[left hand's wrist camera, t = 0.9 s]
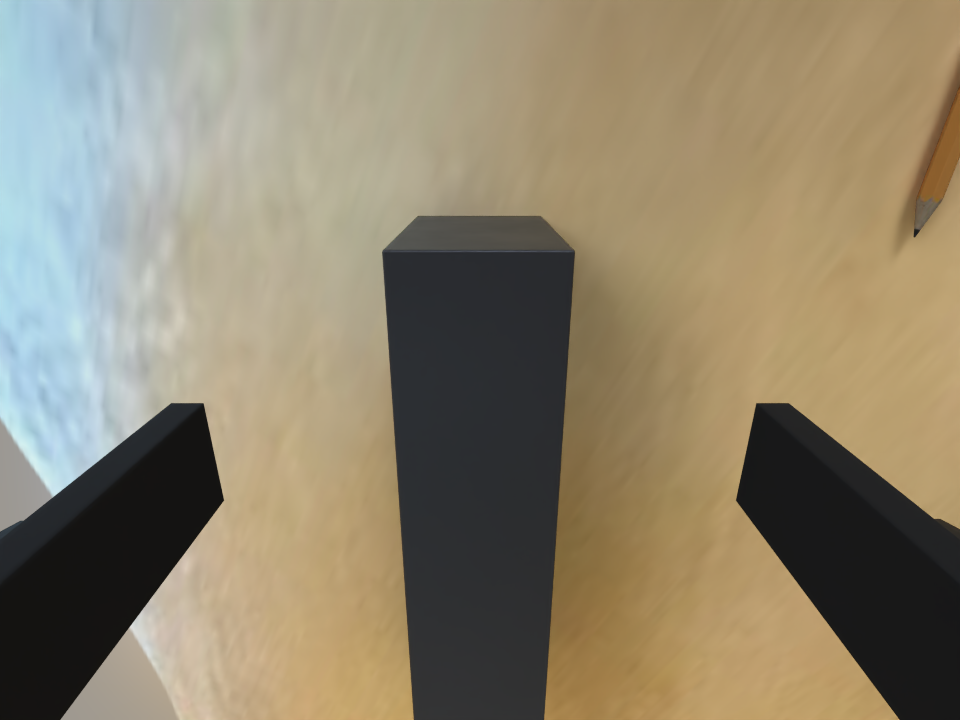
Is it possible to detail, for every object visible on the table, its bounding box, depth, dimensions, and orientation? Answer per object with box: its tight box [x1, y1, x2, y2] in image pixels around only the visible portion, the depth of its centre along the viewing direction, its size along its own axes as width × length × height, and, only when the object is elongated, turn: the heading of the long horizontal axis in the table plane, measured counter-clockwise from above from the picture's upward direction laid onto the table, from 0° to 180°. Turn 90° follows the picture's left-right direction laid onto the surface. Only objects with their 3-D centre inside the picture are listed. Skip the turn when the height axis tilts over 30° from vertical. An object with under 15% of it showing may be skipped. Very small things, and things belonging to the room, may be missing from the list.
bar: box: [382, 216, 575, 720], centre depth 26 cm, size 29×6×10 cm, turn 0°
